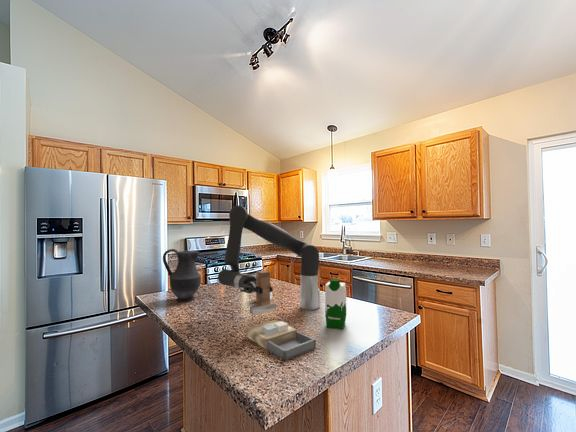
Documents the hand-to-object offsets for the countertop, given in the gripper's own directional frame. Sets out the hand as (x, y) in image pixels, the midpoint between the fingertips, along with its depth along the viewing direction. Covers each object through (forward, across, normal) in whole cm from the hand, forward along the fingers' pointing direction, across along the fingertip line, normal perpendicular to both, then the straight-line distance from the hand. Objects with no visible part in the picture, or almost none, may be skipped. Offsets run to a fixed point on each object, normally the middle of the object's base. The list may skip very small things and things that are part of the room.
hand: (266, 290), depth 107 cm
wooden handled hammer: (-3, 0, +9) cm, 9 cm away
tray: (+15, 0, +18) cm, 23 cm away
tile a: (+6, +3, +14) cm, 15 cm away
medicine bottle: (-43, +27, +18) cm, 54 cm away
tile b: (+6, -2, +14) cm, 15 cm away
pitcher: (-73, -11, +18) cm, 76 cm away
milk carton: (+10, +29, +18) cm, 36 cm away
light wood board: (+3, 0, +18) cm, 18 cm away
